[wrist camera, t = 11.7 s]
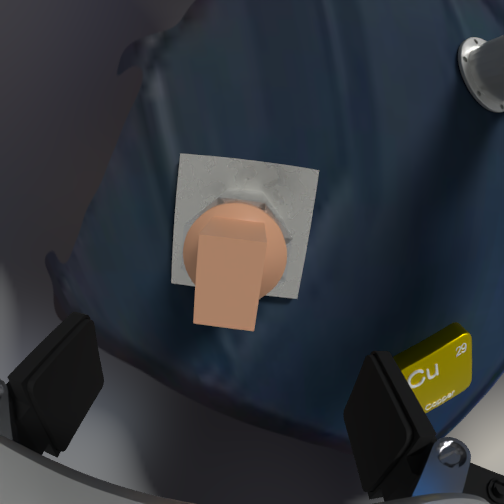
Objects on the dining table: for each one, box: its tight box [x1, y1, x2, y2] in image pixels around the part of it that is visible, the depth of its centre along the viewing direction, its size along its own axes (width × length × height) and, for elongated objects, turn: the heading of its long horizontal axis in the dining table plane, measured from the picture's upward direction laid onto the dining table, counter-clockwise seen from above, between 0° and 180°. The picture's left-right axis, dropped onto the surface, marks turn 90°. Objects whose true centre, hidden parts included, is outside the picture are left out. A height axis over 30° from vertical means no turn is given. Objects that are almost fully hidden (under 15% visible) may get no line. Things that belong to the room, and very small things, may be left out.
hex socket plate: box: [171, 154, 319, 299], centre depth 31 cm, size 16×16×12 cm
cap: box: [183, 202, 287, 331], centre depth 24 cm, size 8×8×10 cm
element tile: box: [393, 322, 472, 413], centre depth 42 cm, size 15×15×5 cm
